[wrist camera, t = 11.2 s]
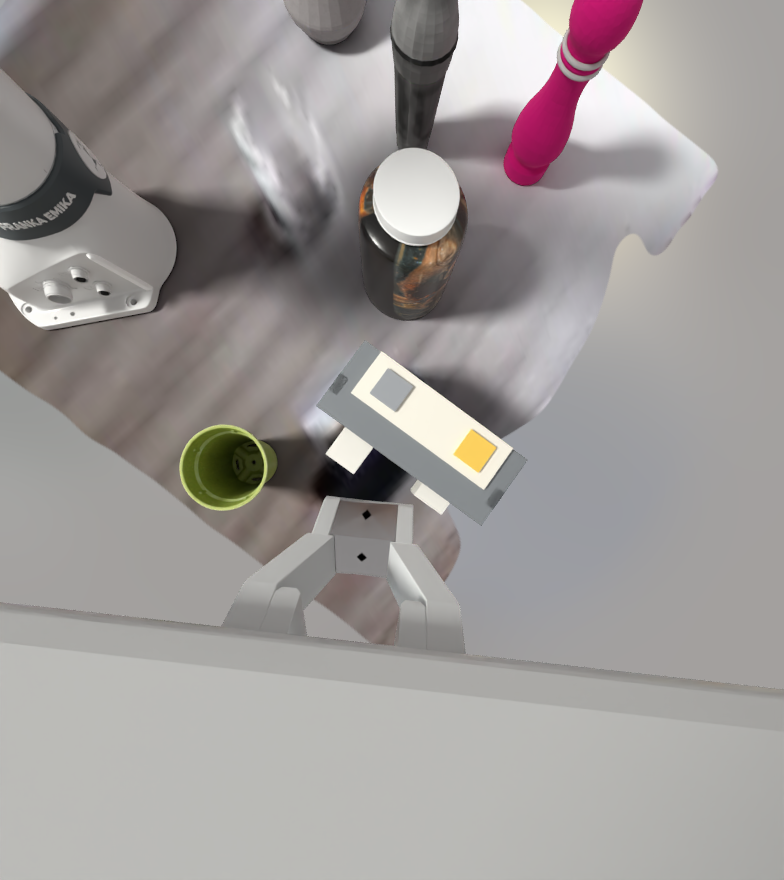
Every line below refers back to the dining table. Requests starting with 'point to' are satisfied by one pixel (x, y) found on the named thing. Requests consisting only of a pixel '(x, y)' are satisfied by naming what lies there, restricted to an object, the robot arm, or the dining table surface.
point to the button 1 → (349, 450)
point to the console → (422, 432)
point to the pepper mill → (566, 85)
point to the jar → (410, 232)
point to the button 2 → (429, 497)
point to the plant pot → (225, 467)
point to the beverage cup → (421, 64)
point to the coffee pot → (326, 18)
